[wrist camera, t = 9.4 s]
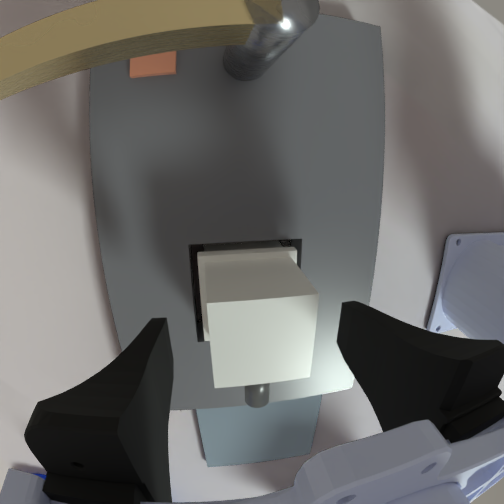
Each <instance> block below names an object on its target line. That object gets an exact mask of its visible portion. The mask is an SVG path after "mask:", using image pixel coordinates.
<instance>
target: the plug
mask: <svg viewBox="0 0 504 504" xmlns="http://www.w3.org/2000/svg"><path fill="white" fill-rule="evenodd" d="M197 257H198V271H199V284H200V296H201V308H202V319H203V329H204V339H205V341H210V348H211V358H212V368H213V378H214V387H215V388H225V387H236V386H245V402H246V404H247V405H248V406H250V407H253V408H261V407H264V406H266V405H267V404H268V403H269V394H270V383H273V382H280V381H288V380H295V379H301V378H308V377H310V372H311V364H312V356H313V348H314V340H315V331H316V321H317V311H318V301H319V293H318V292H317V291H316V289H315V288H314V287H313V285H312V284H311V283H310V281H309V280H308V279H307V277H306V276H305V275H304V273H303V272H302V271H301V270H300V268H299V267H298V266H297V250H296V249H295V247H283V246H282V245H281V244H280V242H279V241H263V242H244V243H226V244H208V245H204V252H198V254H197Z"/></svg>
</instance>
